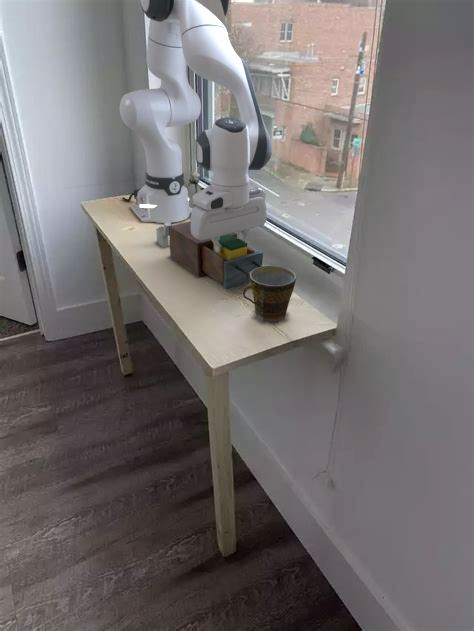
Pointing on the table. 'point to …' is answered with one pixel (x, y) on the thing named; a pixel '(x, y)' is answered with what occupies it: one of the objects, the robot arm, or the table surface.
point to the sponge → (231, 247)
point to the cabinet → (187, 247)
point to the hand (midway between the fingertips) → (229, 248)
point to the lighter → (163, 234)
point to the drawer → (229, 266)
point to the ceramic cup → (271, 292)
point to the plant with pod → (194, 180)
